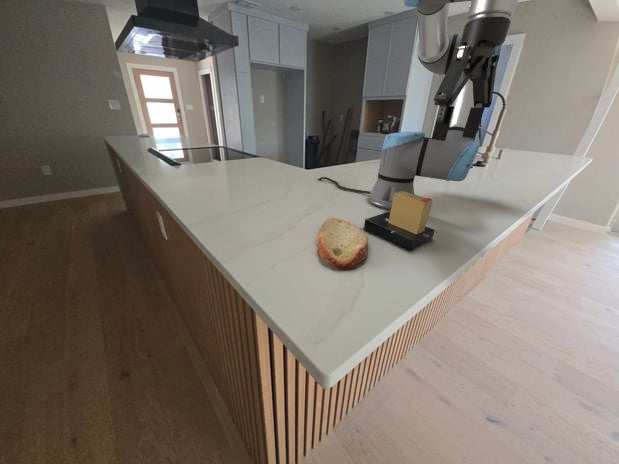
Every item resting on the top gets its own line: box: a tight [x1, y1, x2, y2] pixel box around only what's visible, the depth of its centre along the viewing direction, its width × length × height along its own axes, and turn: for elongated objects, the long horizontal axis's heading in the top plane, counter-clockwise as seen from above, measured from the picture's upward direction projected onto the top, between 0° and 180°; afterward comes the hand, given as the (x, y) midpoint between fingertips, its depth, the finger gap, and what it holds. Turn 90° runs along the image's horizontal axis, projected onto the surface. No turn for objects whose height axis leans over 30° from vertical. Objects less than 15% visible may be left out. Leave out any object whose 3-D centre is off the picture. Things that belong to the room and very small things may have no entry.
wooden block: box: [389, 191, 434, 235], centre depth 62 cm, size 8×4×8 cm, turn 39°
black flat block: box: [363, 211, 436, 252], centre depth 65 cm, size 15×12×3 cm
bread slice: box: [316, 217, 369, 270], centre depth 60 cm, size 18×18×4 cm
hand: (454, 138), depth 58 cm, fingers open, 13 cm apart
